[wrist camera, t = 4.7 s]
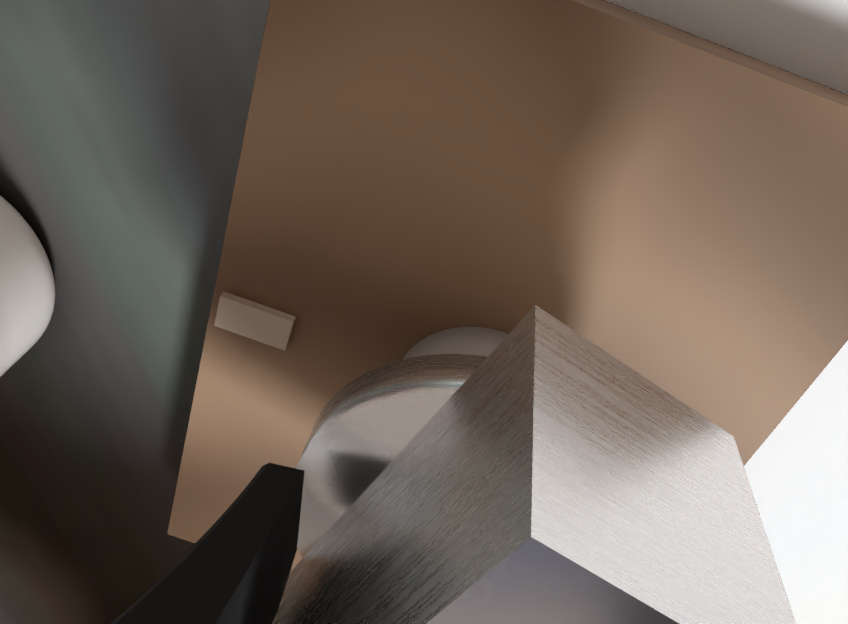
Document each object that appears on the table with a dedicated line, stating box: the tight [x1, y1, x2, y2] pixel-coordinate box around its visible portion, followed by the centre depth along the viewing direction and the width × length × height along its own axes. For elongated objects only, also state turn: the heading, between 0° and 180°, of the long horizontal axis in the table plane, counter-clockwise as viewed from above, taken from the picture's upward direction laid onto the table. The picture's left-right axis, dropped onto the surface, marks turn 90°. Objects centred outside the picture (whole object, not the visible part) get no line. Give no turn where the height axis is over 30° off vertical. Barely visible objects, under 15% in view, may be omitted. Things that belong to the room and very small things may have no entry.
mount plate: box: [167, 0, 848, 570], centre depth 15 cm, size 16×12×4 cm
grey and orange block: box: [272, 305, 796, 624], centre depth 11 cm, size 6×9×5 cm, turn 147°
